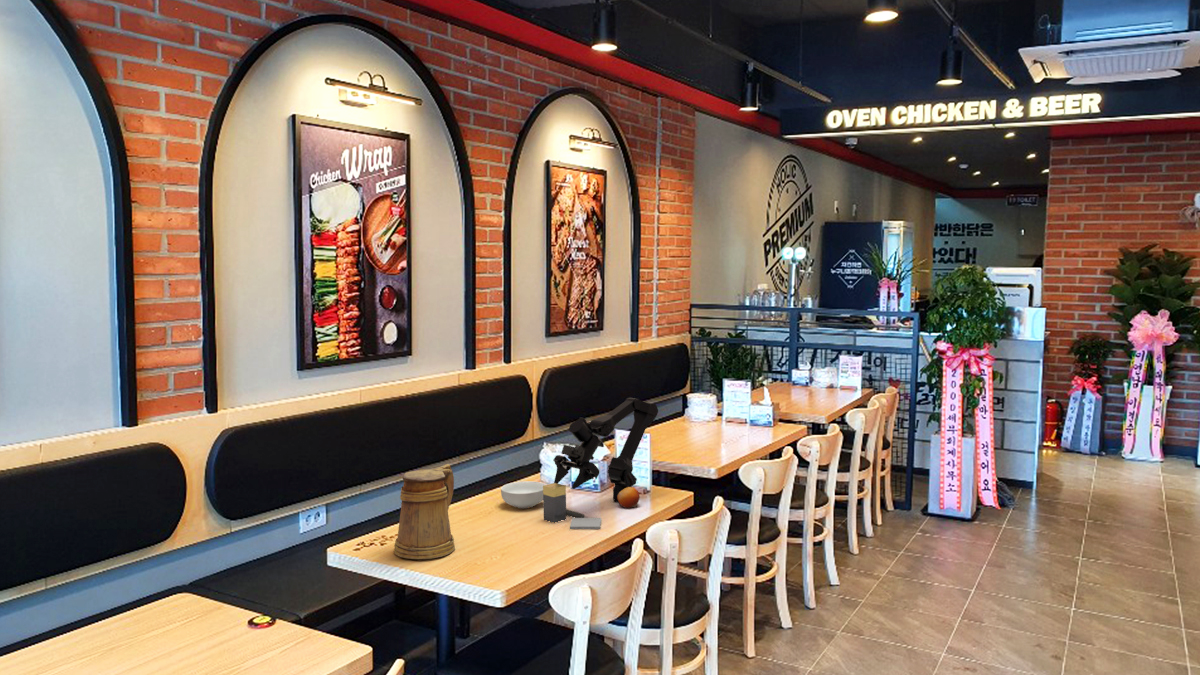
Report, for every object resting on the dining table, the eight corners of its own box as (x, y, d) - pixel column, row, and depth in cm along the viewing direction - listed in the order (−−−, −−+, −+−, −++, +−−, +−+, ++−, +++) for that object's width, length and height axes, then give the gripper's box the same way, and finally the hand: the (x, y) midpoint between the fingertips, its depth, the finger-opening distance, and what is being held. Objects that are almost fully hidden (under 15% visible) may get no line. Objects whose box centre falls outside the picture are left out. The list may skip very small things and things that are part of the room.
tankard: (381, 556, 270) (378, 475, 268) (430, 534, 291) (427, 459, 289) (429, 565, 262) (426, 481, 260) (475, 542, 283) (473, 464, 281)
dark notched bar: (554, 512, 315) (554, 507, 315) (558, 511, 316) (558, 506, 316) (581, 520, 305) (581, 515, 305) (586, 519, 306) (585, 513, 306)
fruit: (645, 505, 317) (633, 486, 317) (626, 516, 318) (614, 497, 317) (644, 499, 325) (632, 480, 325) (626, 510, 326) (614, 491, 325)
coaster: (601, 520, 304) (601, 517, 304) (600, 529, 294) (600, 526, 294) (572, 520, 305) (572, 517, 304) (569, 529, 295) (569, 526, 295)
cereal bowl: (504, 499, 333) (504, 480, 333) (549, 499, 332) (548, 480, 332) (497, 512, 316) (497, 492, 316) (544, 512, 316) (544, 492, 315)
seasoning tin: (555, 516, 310) (555, 482, 309) (566, 519, 306) (565, 485, 305) (543, 520, 306) (543, 485, 305) (554, 523, 302) (553, 488, 301)
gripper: (556, 432, 317) (533, 468, 310) (593, 439, 304) (569, 477, 297) (573, 451, 323) (550, 486, 316) (609, 458, 310) (587, 495, 303)
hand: (563, 486), depth 308 cm, fingers open, 9 cm apart
